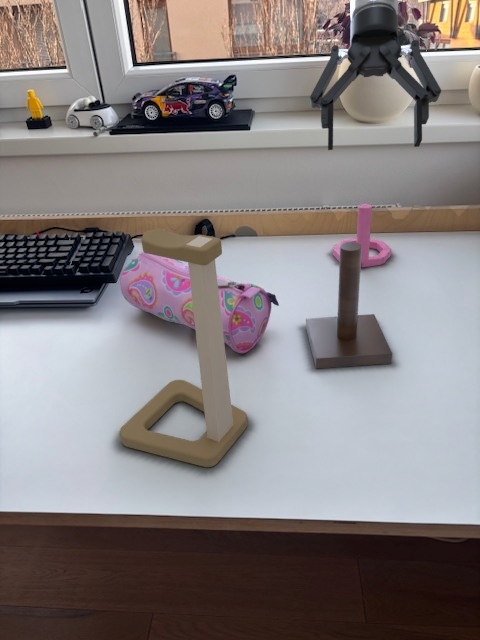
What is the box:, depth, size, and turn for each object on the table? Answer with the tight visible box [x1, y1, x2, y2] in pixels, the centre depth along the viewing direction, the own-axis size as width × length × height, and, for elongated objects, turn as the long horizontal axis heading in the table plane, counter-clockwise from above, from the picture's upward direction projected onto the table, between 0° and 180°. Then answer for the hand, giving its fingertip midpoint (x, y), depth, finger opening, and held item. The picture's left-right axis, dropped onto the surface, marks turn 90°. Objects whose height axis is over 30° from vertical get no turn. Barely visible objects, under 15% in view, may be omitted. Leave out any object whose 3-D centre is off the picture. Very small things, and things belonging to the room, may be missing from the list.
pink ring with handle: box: [332, 203, 392, 268], centre depth 87 cm, size 9×10×10 cm
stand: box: [305, 242, 393, 369], centre depth 65 cm, size 9×9×14 cm
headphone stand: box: [119, 227, 249, 468], centre depth 51 cm, size 10×11×22 cm
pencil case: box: [119, 251, 280, 354], centre depth 72 cm, size 21×9×9 cm, turn 50°
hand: (373, 145), depth 86 cm, fingers open, 13 cm apart
